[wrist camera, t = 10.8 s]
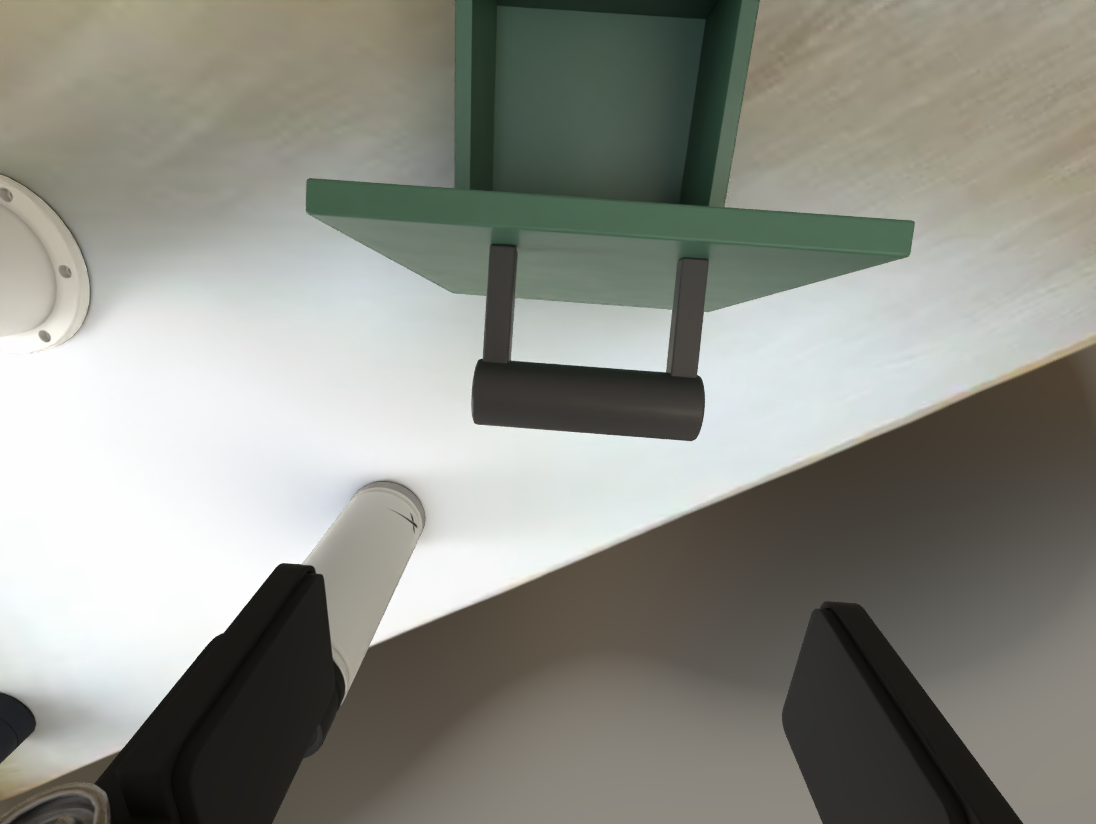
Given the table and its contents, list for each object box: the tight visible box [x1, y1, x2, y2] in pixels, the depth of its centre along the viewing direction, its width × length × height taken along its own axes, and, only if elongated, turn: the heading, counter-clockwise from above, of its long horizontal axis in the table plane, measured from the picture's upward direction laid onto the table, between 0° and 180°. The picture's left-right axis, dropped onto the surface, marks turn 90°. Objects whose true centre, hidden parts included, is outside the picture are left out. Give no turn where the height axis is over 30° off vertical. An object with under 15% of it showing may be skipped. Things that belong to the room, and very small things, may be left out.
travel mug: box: [302, 482, 425, 758], centre depth 35 cm, size 6×7×20 cm
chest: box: [455, 0, 760, 207], centre depth 30 cm, size 16×14×9 cm
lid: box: [306, 178, 915, 441], centre depth 20 cm, size 16×14×6 cm
